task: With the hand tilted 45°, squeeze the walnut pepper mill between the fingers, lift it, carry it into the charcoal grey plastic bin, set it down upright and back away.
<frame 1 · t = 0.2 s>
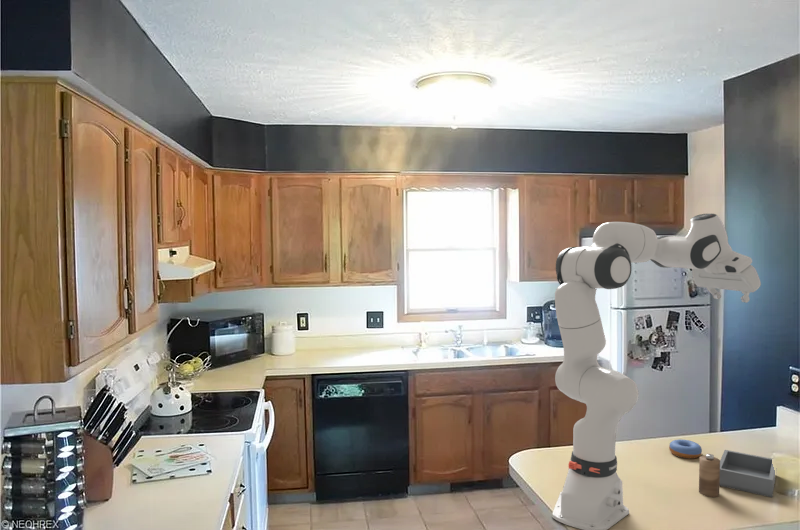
hand: (731, 299, 181), 54 cm above the countertop, tool tilted 30°, fingers open, 8 cm apart
pepper mill: (708, 493, 167), on the countertop
doughnut: (685, 455, 196), on the countertop
bin: (746, 480, 175), on the countertop
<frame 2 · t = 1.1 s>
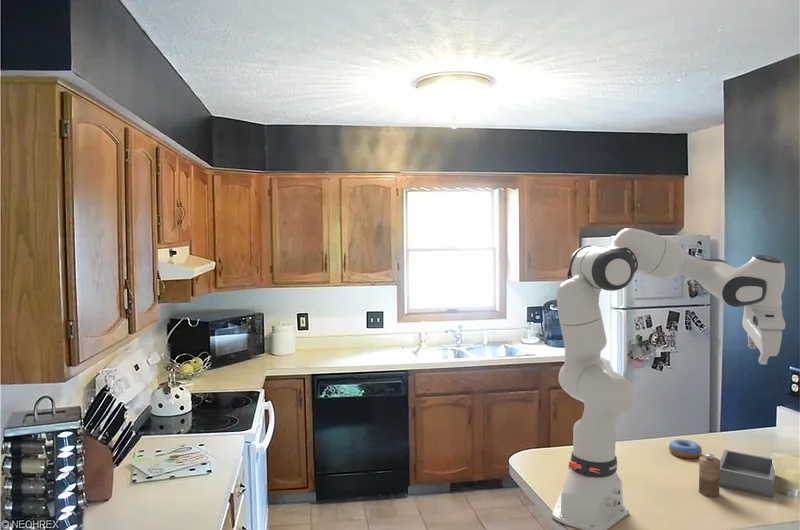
hand: (757, 355, 166), 40 cm above the countertop, tool tilted 15°, fingers open, 8 cm apart
nothing on the countertop moved.
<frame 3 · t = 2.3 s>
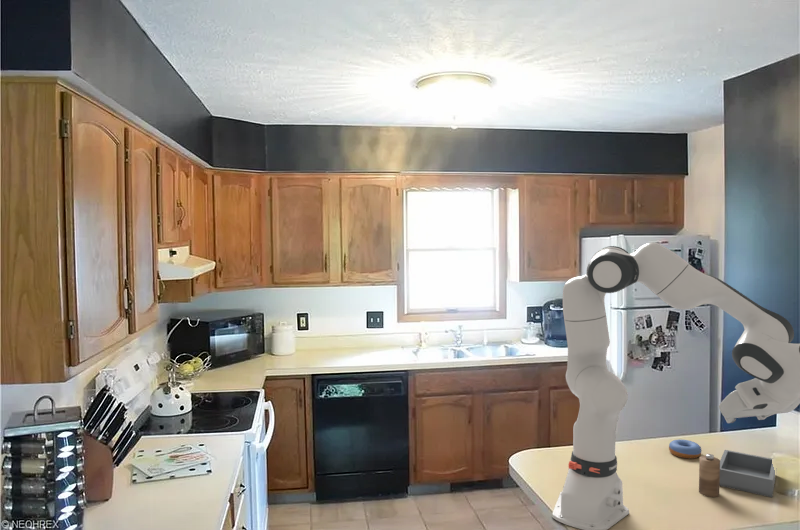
hand: (743, 419, 153), 26 cm above the countertop, tool tilted 45°, fingers open, 8 cm apart
nothing on the countertop moved.
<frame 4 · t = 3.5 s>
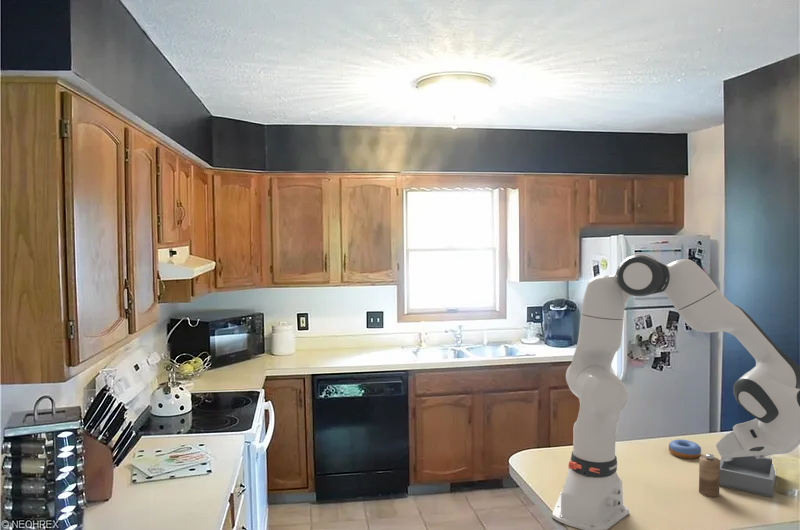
hand: (741, 457, 154), 15 cm above the countertop, tool tilted 45°, fingers open, 8 cm apart
nothing on the countertop moved.
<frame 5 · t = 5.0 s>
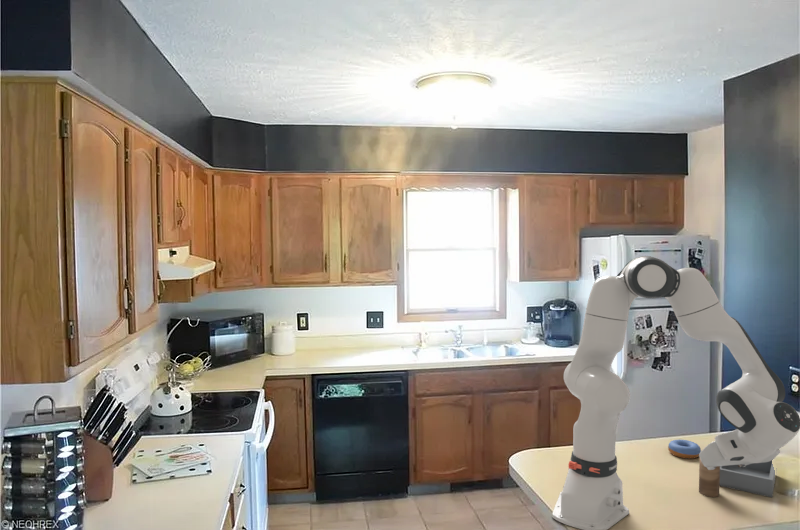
hand: (724, 465, 160), 10 cm above the countertop, tool tilted 45°, fingers open, 8 cm apart
nothing on the countertop moved.
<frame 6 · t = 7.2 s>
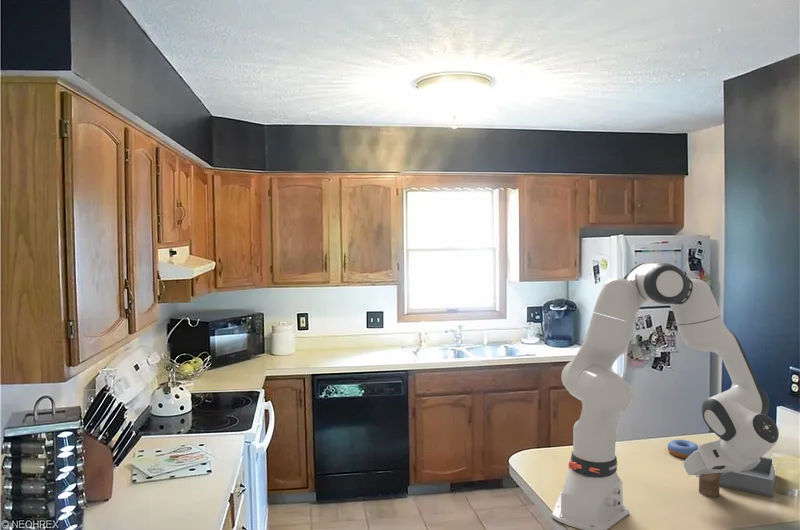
hand: (707, 473, 167), 5 cm above the countertop, tool tilted 45°, fingers closed on pepper mill, 5 cm apart
pepper mill: (708, 493, 167), on the countertop, touching gripper
everything else where it was.
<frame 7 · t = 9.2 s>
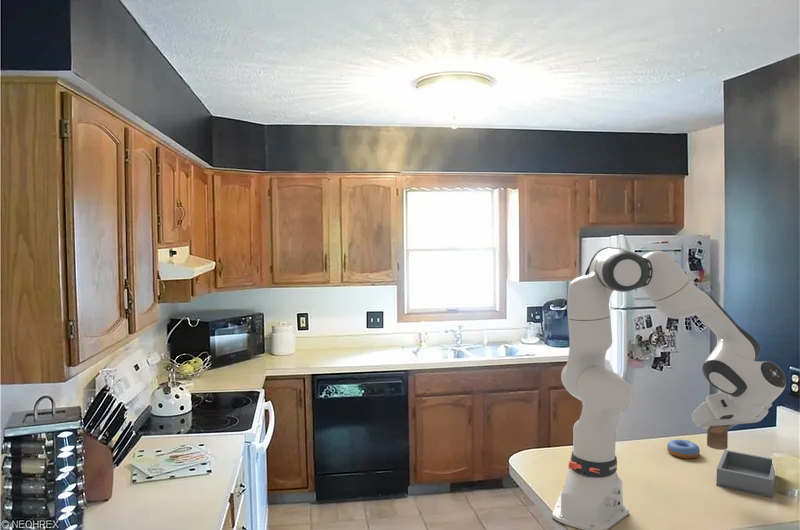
hand: (715, 427, 167), 19 cm above the countertop, tool tilted 45°, fingers closed on pepper mill, 5 cm apart
pepper mill: (717, 446, 167), point 13 cm above the countertop, touching gripper
everything else where it was.
when the fingers open (8 cm above the countertop, at t = 12.6 s): pepper mill drops 1 cm, resting on bin.
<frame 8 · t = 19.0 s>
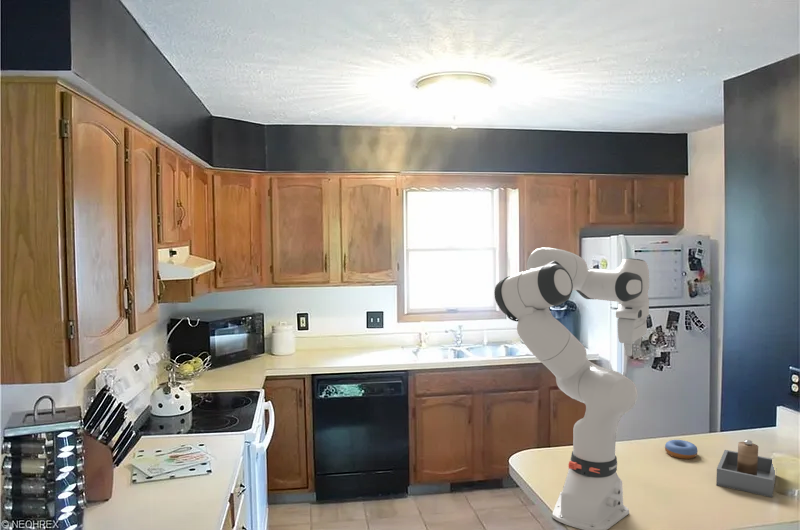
hand: (632, 352, 183), 37 cm above the countertop, tool pointing down, fingers open, 8 cm apart
pepper mill: (746, 477, 175), point 1 cm above the countertop, touching bin
at the end: pepper mill inside the target area on the bin (0.1 cm from its centre), point 0.9 cm above the bin's base; pepper mill tilted 2°; the gripper is holding nothing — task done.
